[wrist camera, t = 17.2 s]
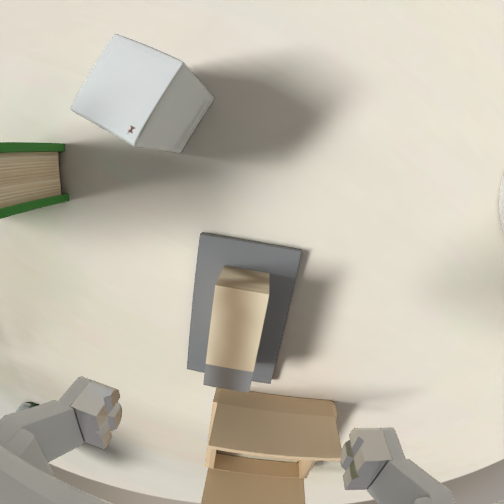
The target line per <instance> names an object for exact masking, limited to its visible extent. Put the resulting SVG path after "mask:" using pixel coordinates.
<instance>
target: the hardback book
mask: <svg viewBox="0 0 504 504" xmlns="http://www.w3.org/2000/svg"><path fill="white" fill-rule="evenodd" d="M62 151H65V144H60V143H17V142H6V143H0V219H1V218H4V217H8V216H11V215H15V214H18V213H22V212H26V211H30V210H33V209H37V208H41V207H45V206H49V205H53V204H57V203H62V202H66V201H69V196H68V194H63V195H61V185H60V174H59V159H58V152H62Z"/></svg>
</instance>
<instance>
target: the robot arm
mask: <svg viewBox="0 0 504 504" xmlns="http://www.w3.org/2000/svg"><path fill="white" fill-rule="evenodd" d="M499 214H500V221H501V225H502V229H503V232H504V175H503V179H502V182H501V187H500V195H499ZM119 398H120V394H119V390H117V389H115V388H113V387H110V386H107V385H104V384H101V383H99V382H96V381H93V380H90V379H88V378H85V377H83V376H81V377H78V378H77V379H76V380H75V382H74V383H73V384H72V385H71V386H70V388H69V389H68V390H67V391H66V392H65V393H64V395H63V396H62V397H61V398H60V399H59V401H56V400H53V401H50V402H47V403H44V404H41V405H38V406H35V407H31V408H28V409H25V410H22V411H18V412H15V413H12V414H8V415H5V416H3V418H2V419H1V420H0V504H113V503H110V502H108V501H105V500H102V499H100V498H98V497H95V496H93V495H90V494H88V493H86V492H84V491H81V490H79V489H77V488H75V487H73V486H71V485H68V484H66V483H64V482H62V481H60V480H58V479H56V478H54V473H53V471H52V470H51V468H50V466H49V464H48V462H50V461H52V460H54V459H56V458H58V457H59V456H61V455H63V454H65V453H67V452H69V451H71V450H73V449H74V448H76V447H78V446H80V445H82V444H83V443H84V442H86V443H88V444H91V445H94V446H96V447H99V448H102V449H106V447H107V445H108V443H109V442H110V440H111V438H112V435H111V431H113V430H115V429H117V427H118V426H119V424H120V421H121V417H122V407H121V405H120V404H119V402H118V400H119ZM349 437H350V440H349V441H347V442H346V443H345V444H344V446H343V448H342V452H341V467H342V468H344V469H345V470H346V471H345V473H344V475H343V480H344V487H345V490H364V489H367V491H368V492H369V494H370V495H371V496H372V497H373V498H374V499H375V500H376V502H377V503H378V504H456V503H455V500H454V497H453V495H452V492H451V491H450V490H449V489H448V488H446V487H445V486H444V485H442V484H441V483H440V482H438V481H437V480H436V479H434V478H433V477H432V476H430V475H429V474H428V473H427V472H425V471H424V470H423V469H421V468H420V467H419V466H417V465H416V464H415V463H414V462H412V461H411V460H410V459H405V456H404V453H403V450H402V448H401V445H400V442H399V439H398V437H397V434H396V431H395V429H394V428H354V429H353V430H352V431H351V432H350V434H349ZM494 504H504V499H503V500H501V501H499V502H496V503H494Z"/></svg>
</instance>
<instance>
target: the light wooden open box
mask: <svg viewBox="0 0 504 504" xmlns="http://www.w3.org/2000/svg"><path fill="white" fill-rule="evenodd" d="M337 417H338V415H337V411H336V406H335V403H333V402H331V400H319V399H308V398H298V397H289V396H280V395H272V394H265V393H258V392H251V391H249V393H247V392H240V391H234V390H228V389H223V388H216V392H215V396H214V400H213V407H212V414H211V422H210V430H209V438H208V446H207V454H206V462H205V467H208V472H207V477H206V482H205V487H204V492H203V497H202V502H201V504H305V493H304V478H307V476H308V474H309V473H310V471H311V469H312V467H313V465H314V463H315V461H316V460H318V461H341V452H342V448H341V443H340V439H339V434H338V429H337V424H336V419H337ZM217 450H221V451H227V452H233V453H240V454H247V455H255V456H263V457H273V458H284V459H297V460H299V462H298V463H293V462H280V461H269V460H260V459H252V458H244V457H237V456H231V455H224V454H219V453H216V452H217Z"/></svg>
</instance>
